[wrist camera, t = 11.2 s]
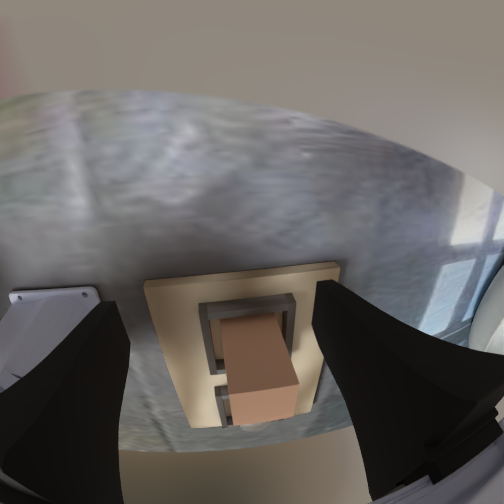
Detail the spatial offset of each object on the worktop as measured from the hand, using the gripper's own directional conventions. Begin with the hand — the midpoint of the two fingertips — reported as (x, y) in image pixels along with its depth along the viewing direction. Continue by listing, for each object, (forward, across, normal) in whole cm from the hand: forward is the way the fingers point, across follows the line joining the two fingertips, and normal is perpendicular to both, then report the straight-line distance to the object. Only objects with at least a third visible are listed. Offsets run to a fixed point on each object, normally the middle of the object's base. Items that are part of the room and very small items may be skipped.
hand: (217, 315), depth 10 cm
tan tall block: (+8, -2, +9) cm, 12 cm away
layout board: (+9, -2, +14) cm, 17 cm away
